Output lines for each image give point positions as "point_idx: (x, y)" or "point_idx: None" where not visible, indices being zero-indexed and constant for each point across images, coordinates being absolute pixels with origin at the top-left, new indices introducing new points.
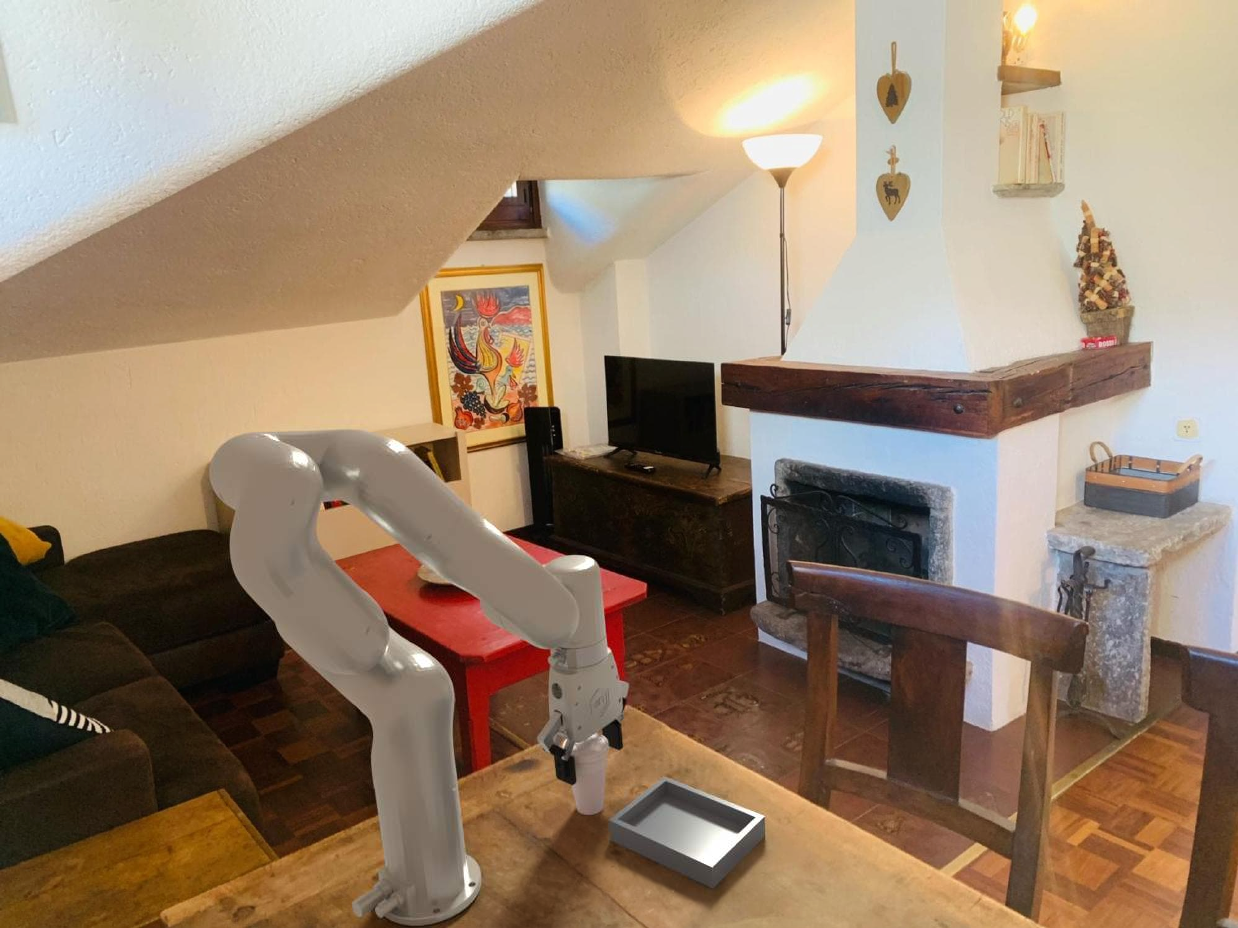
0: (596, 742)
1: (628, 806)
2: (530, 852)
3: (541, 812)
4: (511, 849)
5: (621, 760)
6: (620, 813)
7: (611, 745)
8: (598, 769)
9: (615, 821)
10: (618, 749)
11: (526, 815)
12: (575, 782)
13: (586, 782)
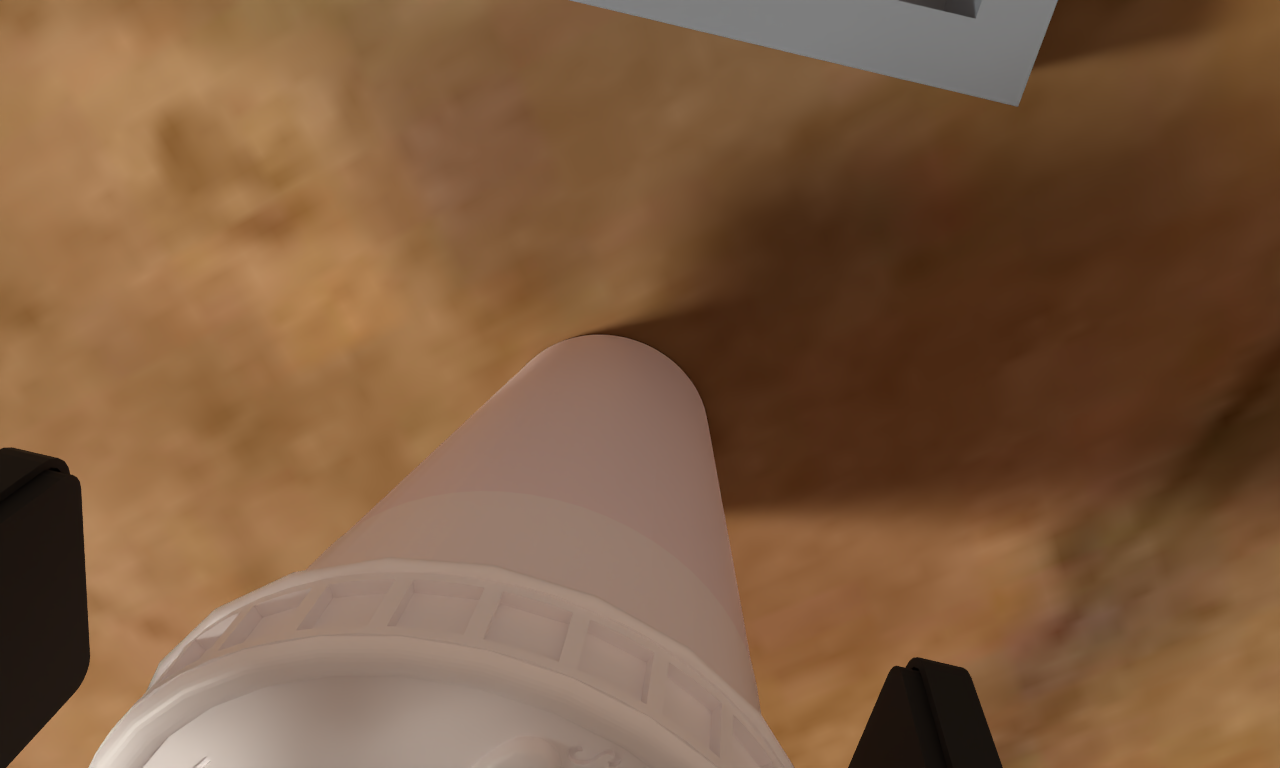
0: None
1: (711, 11)
2: (1251, 583)
3: (792, 691)
4: (1239, 701)
5: None
6: (864, 36)
7: (69, 586)
8: (612, 527)
9: (1025, 20)
10: (76, 480)
11: None
12: (935, 664)
13: (723, 557)
